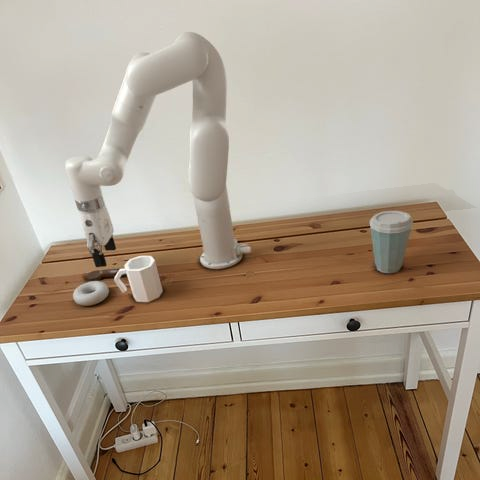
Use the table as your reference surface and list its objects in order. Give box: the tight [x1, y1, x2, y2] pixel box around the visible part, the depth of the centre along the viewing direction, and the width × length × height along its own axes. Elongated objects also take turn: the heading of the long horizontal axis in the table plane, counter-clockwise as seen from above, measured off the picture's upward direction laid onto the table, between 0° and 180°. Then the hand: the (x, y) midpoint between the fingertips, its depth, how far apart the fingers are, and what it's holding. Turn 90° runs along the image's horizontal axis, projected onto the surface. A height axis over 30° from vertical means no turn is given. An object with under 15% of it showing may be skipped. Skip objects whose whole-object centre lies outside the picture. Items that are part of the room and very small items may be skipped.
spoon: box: [86, 267, 127, 282], centre depth 159 cm, size 16×5×2 cm, turn 85°
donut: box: [72, 280, 110, 307], centre depth 150 cm, size 10×4×10 cm
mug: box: [113, 255, 163, 303], centre depth 146 cm, size 12×9×10 cm
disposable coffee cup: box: [369, 210, 414, 274], centre depth 139 cm, size 11×11×15 cm
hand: (106, 257), depth 156 cm, fingers open, 9 cm apart
